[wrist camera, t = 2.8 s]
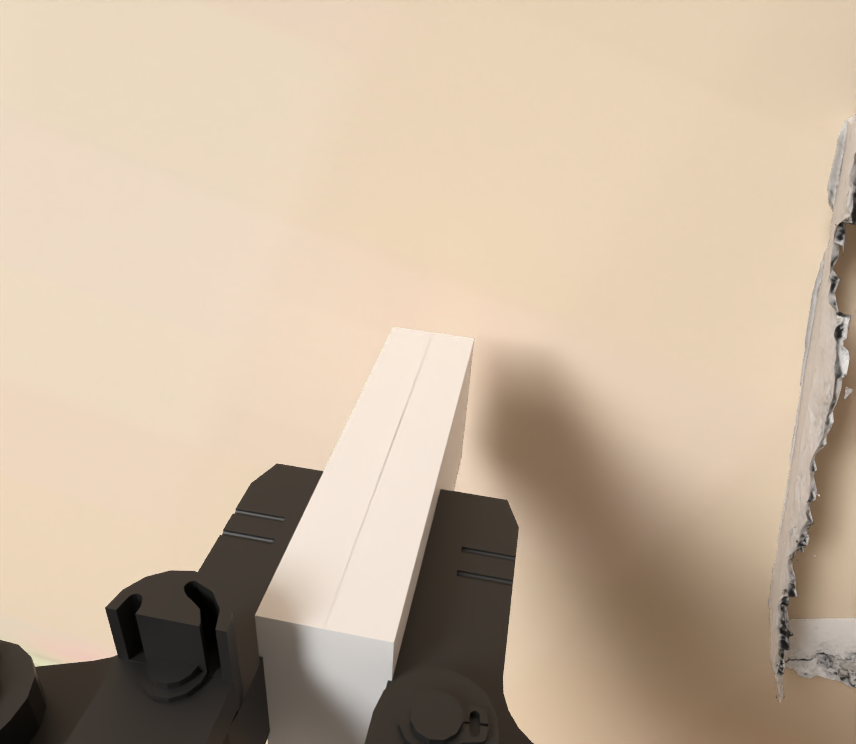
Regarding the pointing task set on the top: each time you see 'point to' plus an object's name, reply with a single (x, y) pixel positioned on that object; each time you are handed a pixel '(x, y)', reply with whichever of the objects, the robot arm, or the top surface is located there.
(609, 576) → the top surface
